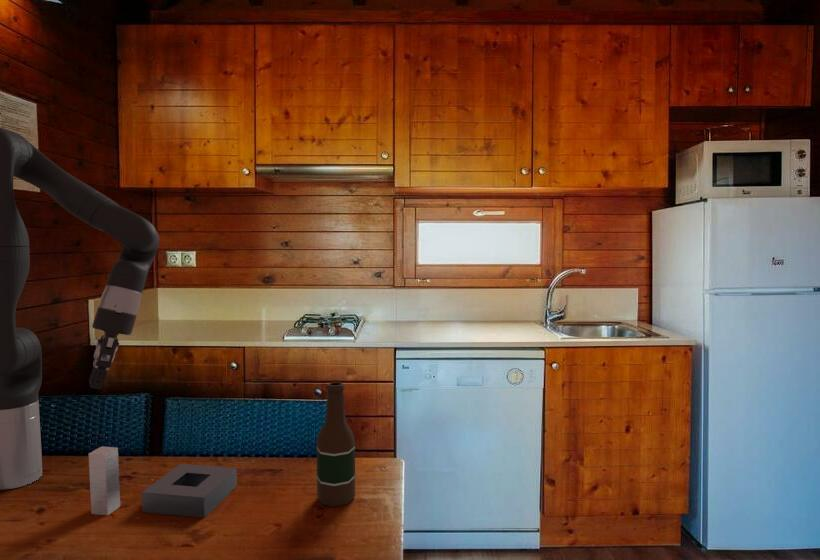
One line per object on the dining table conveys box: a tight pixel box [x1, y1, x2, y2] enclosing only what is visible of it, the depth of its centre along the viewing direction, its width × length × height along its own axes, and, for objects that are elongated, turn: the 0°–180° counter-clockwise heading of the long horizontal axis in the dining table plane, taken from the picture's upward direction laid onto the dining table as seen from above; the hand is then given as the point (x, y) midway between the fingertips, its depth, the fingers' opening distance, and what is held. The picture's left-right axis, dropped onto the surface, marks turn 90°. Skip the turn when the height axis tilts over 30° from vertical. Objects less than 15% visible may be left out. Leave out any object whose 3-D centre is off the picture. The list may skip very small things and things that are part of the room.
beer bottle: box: [316, 381, 356, 508], centre depth 109 cm, size 8×8×24 cm
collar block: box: [141, 463, 238, 518], centre depth 109 cm, size 13×13×4 cm
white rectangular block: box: [88, 446, 121, 516], centre depth 104 cm, size 4×4×12 cm
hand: (94, 386), depth 111 cm, fingers open, 8 cm apart
